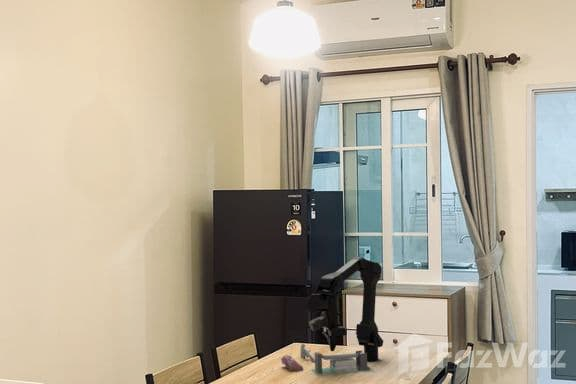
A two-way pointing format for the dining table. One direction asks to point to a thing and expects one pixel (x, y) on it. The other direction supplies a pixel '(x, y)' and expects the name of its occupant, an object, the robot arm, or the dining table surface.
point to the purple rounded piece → (291, 363)
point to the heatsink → (343, 365)
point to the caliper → (306, 353)
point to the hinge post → (362, 361)
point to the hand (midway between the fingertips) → (332, 351)
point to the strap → (341, 356)
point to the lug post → (318, 362)
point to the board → (328, 371)
